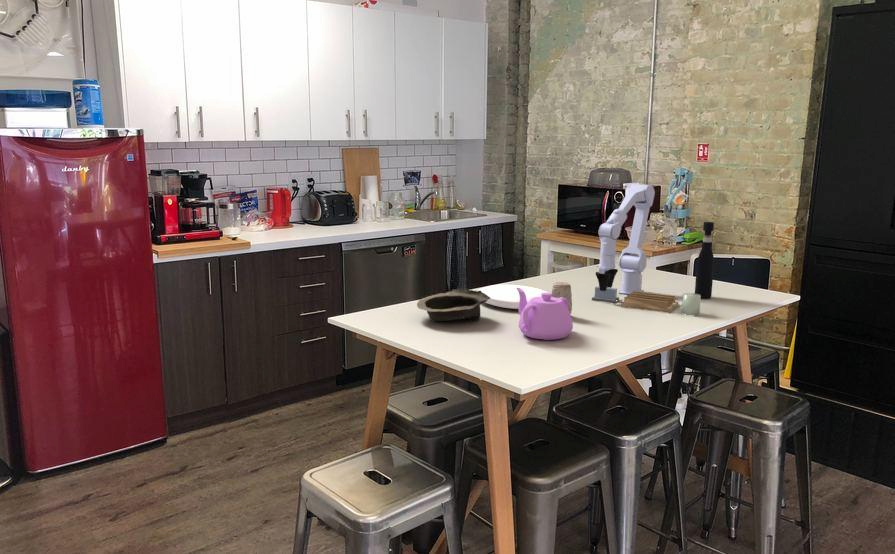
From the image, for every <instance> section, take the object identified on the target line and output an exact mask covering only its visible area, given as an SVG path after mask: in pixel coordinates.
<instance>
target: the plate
mask: <svg viewBox="0 0 895 554" xmlns="http://www.w3.org/2000/svg"><path fill="white" fill-rule="evenodd" d="M517 288H520V289H522V290H523V291H524V292H525V295H526V300H527V303H528V302H529V301H530V299H532V298H534V297H542V295H541V293H549V291H546V290H543V289H540V288H538V287H537V288H536V287H532V286H526V285H518V284H493V285H488V286H485V287H481V288H480V289H477V291H480V290H481V292H483V293H485V294H487V296H489V297H490V299H488V300H487V302H484V304H485V303H486V304H488V305H491V306H496V307H499V308H506V309H512V310H513V309H514V310H519V301H520V295H519V292H518V290H517Z"/></svg>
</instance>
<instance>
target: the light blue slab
mask: <svg viewBox="0 0 895 554" xmlns="http://www.w3.org/2000/svg"><path fill="white" fill-rule="evenodd" d="M617 295H618V288H616V287H611V288H609V287H607V289H606V291H600V288H599V285H596V286H595V287H594V297H598V298H606V299H614V300H616V299H617V297H618V296H617Z"/></svg>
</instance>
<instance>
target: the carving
mask: <svg viewBox="0 0 895 554" xmlns="http://www.w3.org/2000/svg"><path fill="white" fill-rule="evenodd" d="M551 294H552V297H555V298H561V297H562V298H565V299H567V301H568V304H569V305H568V310H569V312H570V315H571V314H572V312H573V311H572V310H573V299H572V295H573V294H572V286H571V284H570V283H568V282H565V281H557V282H554V283H553V284H552V287H551Z"/></svg>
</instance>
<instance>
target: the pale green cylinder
mask: <svg viewBox="0 0 895 554" xmlns="http://www.w3.org/2000/svg"><path fill="white" fill-rule="evenodd" d="M701 300H702V299H701V295H699V294H695V292H686V293H683V294H682V304H681V306H682V307H681V314H682V313H683V314H682V315H684V314H686V315H685V316H689V315H698V316H699V315H700V309H701Z"/></svg>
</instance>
